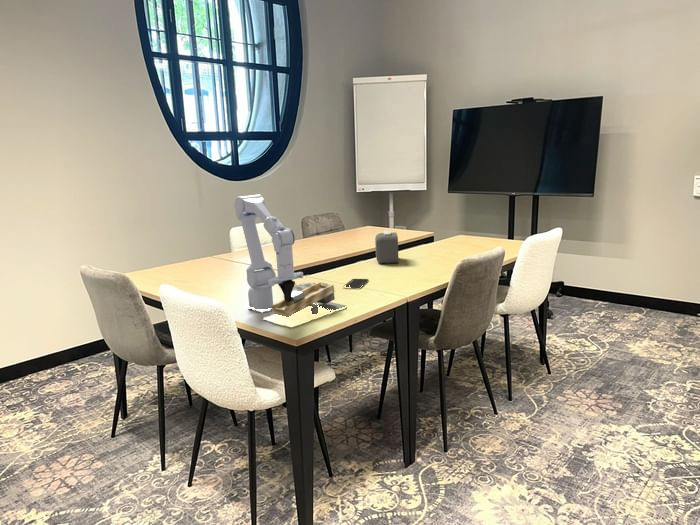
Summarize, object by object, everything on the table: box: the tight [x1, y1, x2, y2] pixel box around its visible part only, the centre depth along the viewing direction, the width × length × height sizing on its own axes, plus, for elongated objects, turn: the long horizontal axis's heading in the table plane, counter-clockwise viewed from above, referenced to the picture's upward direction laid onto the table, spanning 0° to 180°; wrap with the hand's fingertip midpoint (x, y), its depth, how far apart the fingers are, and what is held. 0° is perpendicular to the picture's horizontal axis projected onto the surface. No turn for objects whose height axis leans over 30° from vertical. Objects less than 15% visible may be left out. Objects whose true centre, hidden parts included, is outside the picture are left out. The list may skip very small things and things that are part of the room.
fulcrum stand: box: [311, 301, 347, 314], centre depth 194 cm, size 28×16×3 cm, turn 138°
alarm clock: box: [374, 230, 399, 264], centre depth 278 cm, size 16×11×16 cm
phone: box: [343, 278, 369, 288], centre depth 234 cm, size 8×1×15 cm
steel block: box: [285, 290, 305, 306], centre depth 189 cm, size 5×5×4 cm
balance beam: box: [271, 281, 335, 317], centre depth 193 cm, size 24×12×6 cm, turn 138°
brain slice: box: [292, 282, 331, 291], centre depth 222 cm, size 20×17×3 cm
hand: (287, 301), depth 187 cm, fingers closed, pressing on steel block
